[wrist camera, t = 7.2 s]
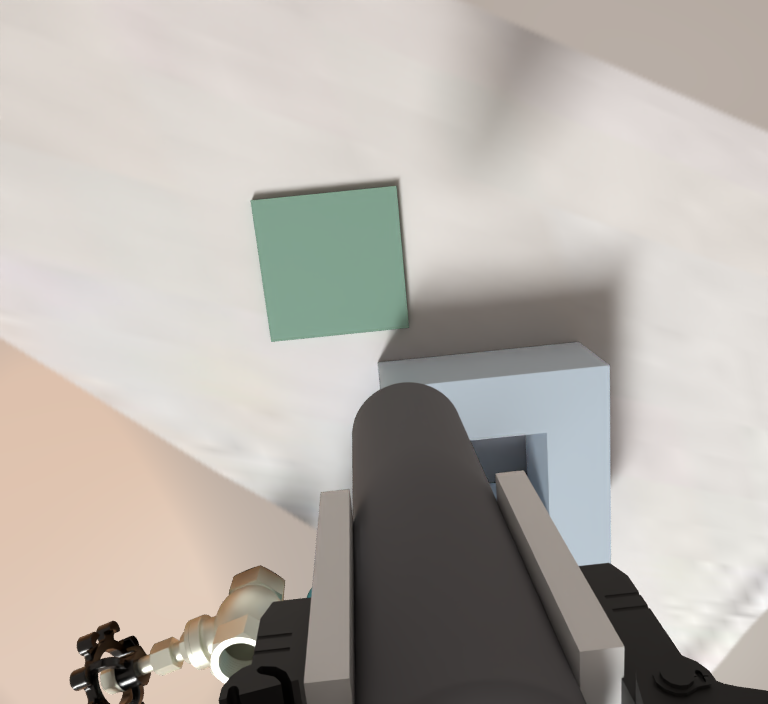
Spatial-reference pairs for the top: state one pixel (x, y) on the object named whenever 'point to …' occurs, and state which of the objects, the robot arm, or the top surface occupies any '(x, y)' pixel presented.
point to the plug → (440, 568)
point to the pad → (331, 263)
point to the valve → (181, 643)
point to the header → (537, 425)
